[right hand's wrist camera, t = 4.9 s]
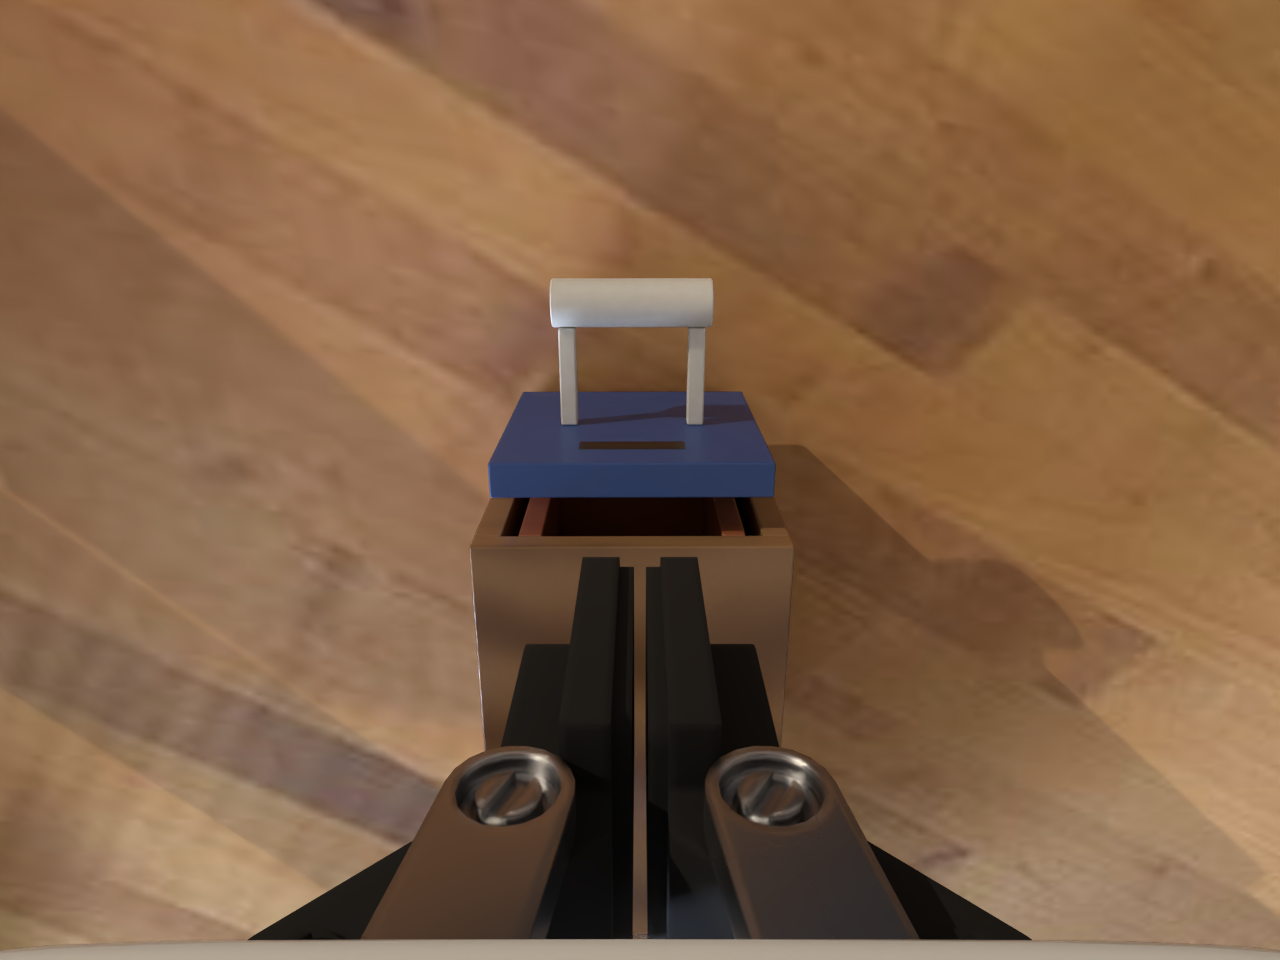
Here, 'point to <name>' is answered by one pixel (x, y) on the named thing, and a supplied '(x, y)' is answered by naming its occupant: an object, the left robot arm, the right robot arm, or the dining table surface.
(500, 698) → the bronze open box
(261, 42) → the dining table surface
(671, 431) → the drawer
